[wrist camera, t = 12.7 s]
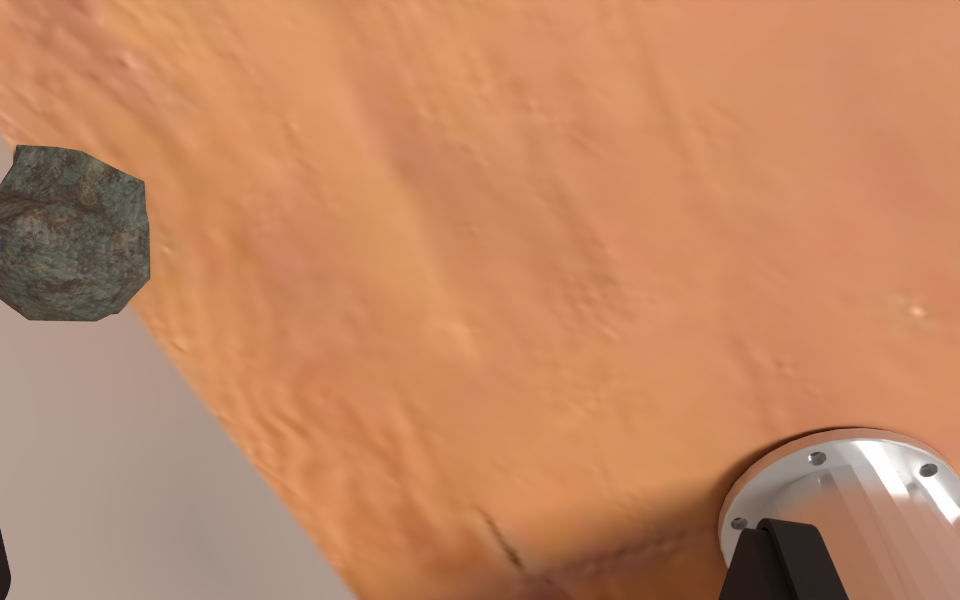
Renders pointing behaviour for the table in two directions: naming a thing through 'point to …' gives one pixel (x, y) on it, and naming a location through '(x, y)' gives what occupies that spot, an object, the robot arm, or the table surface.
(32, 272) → the sword in stone
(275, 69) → the table surface
